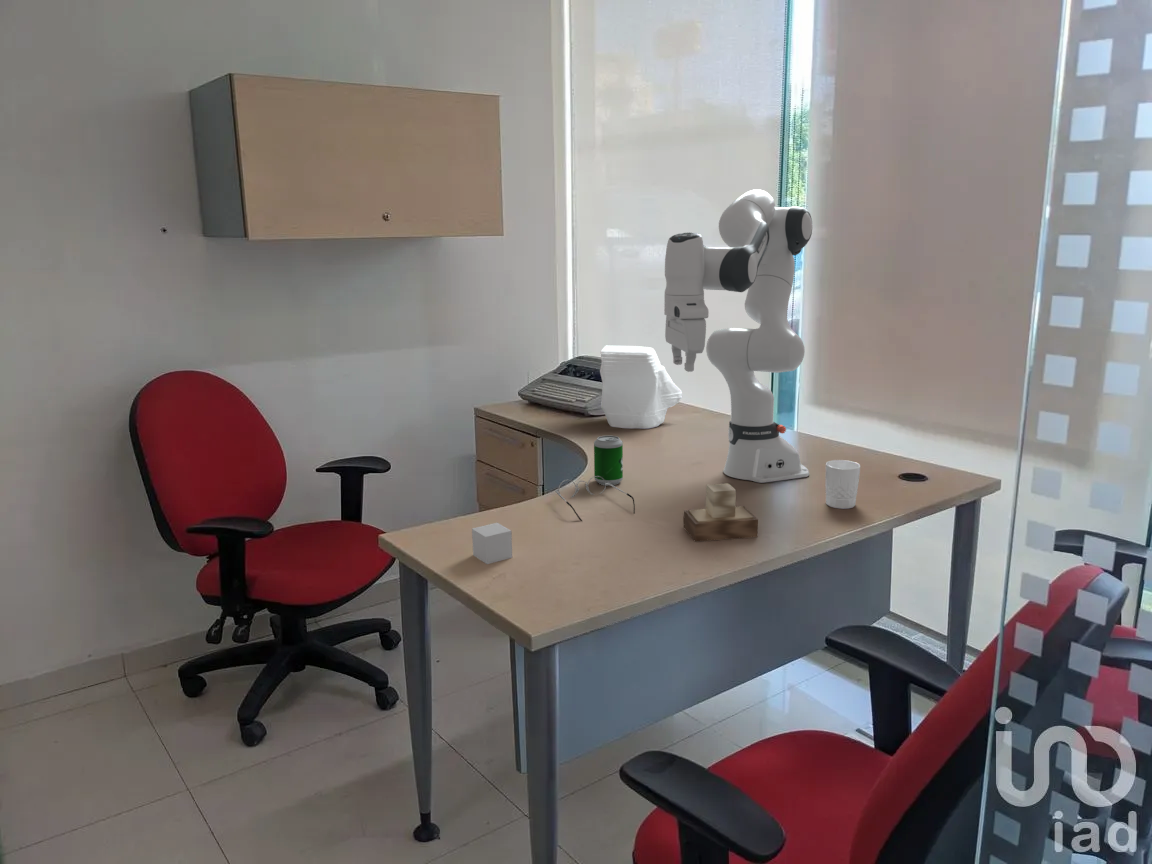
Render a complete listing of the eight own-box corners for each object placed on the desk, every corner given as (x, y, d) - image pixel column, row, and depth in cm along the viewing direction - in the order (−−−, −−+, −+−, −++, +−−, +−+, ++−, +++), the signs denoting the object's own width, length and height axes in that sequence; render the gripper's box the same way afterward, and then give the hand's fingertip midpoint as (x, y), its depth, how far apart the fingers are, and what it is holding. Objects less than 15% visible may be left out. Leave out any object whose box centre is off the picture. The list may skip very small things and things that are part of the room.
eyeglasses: (610, 492, 218) (610, 473, 217) (640, 515, 201) (640, 494, 200) (550, 500, 213) (550, 481, 212) (576, 524, 196) (576, 503, 195)
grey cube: (486, 564, 173) (485, 537, 172) (473, 555, 178) (471, 528, 176) (512, 557, 176) (511, 530, 175) (498, 549, 181) (497, 522, 180)
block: (727, 509, 190) (728, 483, 189) (735, 516, 185) (735, 490, 184) (705, 510, 189) (706, 484, 188) (712, 518, 185) (713, 491, 183)
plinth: (743, 522, 194) (743, 504, 193) (757, 536, 185) (758, 518, 184) (683, 527, 192) (683, 509, 190) (695, 541, 183) (695, 522, 182)
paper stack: (609, 415, 300) (608, 343, 294) (683, 421, 290) (684, 346, 284) (586, 429, 281) (585, 352, 275) (665, 436, 271) (665, 356, 265)
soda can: (620, 487, 221) (620, 442, 218) (592, 485, 222) (591, 441, 219) (624, 478, 228) (624, 435, 225) (597, 477, 229) (596, 434, 226)
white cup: (840, 512, 200) (842, 471, 197) (816, 502, 206) (818, 462, 204) (864, 506, 203) (867, 466, 201) (840, 497, 210) (843, 458, 207)
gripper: (659, 303, 202) (658, 361, 205) (682, 312, 182) (681, 375, 185) (684, 302, 203) (684, 359, 206) (711, 311, 183) (709, 374, 186)
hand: (683, 367), depth 196 cm, fingers open, 8 cm apart
